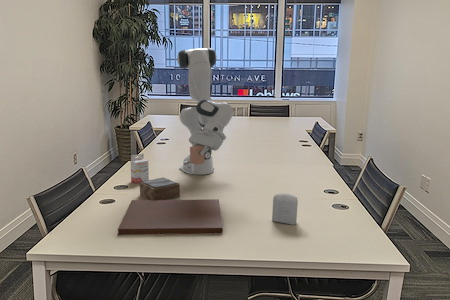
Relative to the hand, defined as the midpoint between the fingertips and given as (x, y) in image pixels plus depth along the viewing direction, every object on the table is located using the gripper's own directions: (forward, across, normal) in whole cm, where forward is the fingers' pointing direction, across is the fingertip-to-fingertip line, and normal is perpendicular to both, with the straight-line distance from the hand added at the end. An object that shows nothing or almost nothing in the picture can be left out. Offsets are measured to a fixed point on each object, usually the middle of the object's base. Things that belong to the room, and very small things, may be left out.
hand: (196, 153), depth 198 cm
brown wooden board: (+34, +18, -2) cm, 38 cm away
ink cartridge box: (+22, -38, +9) cm, 45 cm away
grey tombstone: (+10, +51, +20) cm, 55 cm away
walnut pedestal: (+25, -10, +5) cm, 28 cm away
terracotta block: (+3, 0, +4) cm, 5 cm away
